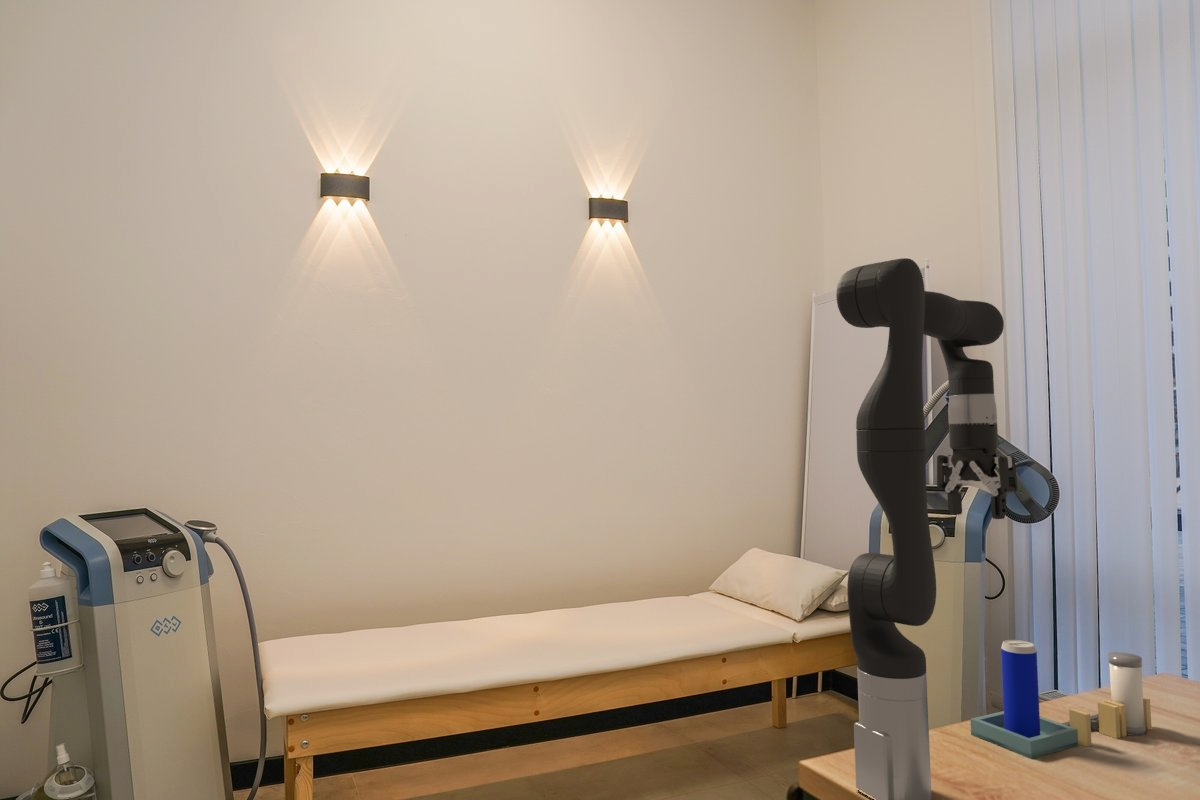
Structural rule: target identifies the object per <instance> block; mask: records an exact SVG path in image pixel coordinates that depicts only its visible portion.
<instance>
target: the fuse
mask: <svg viewBox="0 0 1200 800" xmlns="http://www.w3.org/2000/svg"><path fill="white" fill-rule="evenodd" d="M1107 656H1108V657H1107V658H1108V664H1109V665H1108V666H1109V682H1110V683H1109V684H1110V699H1111V700H1110V701H1113V702H1117V703H1120V704H1123V705H1125V715H1126V734H1127V735H1128V736H1129V735H1130V736H1144V735H1146V728H1145V723H1144V705H1143V697H1144V691H1143V690H1144V689H1143V672H1142V671H1143V670H1142V666H1143V658H1142V657H1141V656H1140V655H1137V654H1133V653H1127V652H1109V653H1108V654H1107Z"/></svg>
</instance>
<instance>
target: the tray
mask: <svg viewBox="0 0 1200 800" xmlns="http://www.w3.org/2000/svg"><path fill="white" fill-rule="evenodd" d="M1061 723H1062V722H1061ZM1061 723H1060V722H1058V721H1055V720H1052V719H1049V718H1046V717H1043V716H1040V735H1039V736H1035V737H1031V738H1027V737H1025V736H1022V735H1019V734H1017V733H1014V732H1011V731H1009V730H1006V729H1005V727H1004V710H1002V711H998V712H993V713H989V714H985V715H982V716H981V715H980V716H977V717H972V718H970V734H971V736H974V737H976V738H979V739H982V740H984V741H986V742H989V743H991V744H994V745H995V746H996V745H997V746H998V747H1001V748H1004V749H1006V750H1008V751H1011V752H1014V753H1016V754H1018V755H1021V756H1023V757H1025V758H1028V759H1034V758H1039V757H1042V756H1045V755H1050V754H1053V753H1054V754H1055V753H1057V752H1060V751H1063V750H1067V749H1070V748H1076V747H1079V743H1078V730H1077V729H1075V728H1073V727H1070V726H1067V725H1064V724H1061Z"/></svg>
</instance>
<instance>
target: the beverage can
mask: <svg viewBox="0 0 1200 800" xmlns="http://www.w3.org/2000/svg"><path fill="white" fill-rule="evenodd" d="M1000 649H1001V650H1000V651H1001V674H1002V676H1001V677H1002V678H1001V679H1002V697H1003V698H1002V699H1003V711H1004V727H1005V729H1006V730H1009V731H1011V732H1014V733H1017V734H1019V735H1022V736H1025V737H1027V738H1031V737H1035V736H1039V735H1040V701H1039V700H1040V699H1039V695H1040V694H1039V675H1038V673H1039V671H1038V654H1037V653H1038V652H1037V648H1036V646H1035V643H1032V642H1030V641H1026V640H1019V639H1006V640H1003V641H1002V643H1001V648H1000Z"/></svg>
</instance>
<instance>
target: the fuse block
mask: <svg viewBox="0 0 1200 800" xmlns="http://www.w3.org/2000/svg"><path fill="white" fill-rule="evenodd" d="M1143 705H1144V723H1145V728H1146V730H1147V731H1149V730H1152V712H1151V698H1149V697H1146V696H1143ZM1097 709H1098V710H1097V711H1098V714H1093V715H1091V713H1088V712H1085V711H1083V710H1079V709H1076V708H1070V709H1068V713H1069V717H1068V718H1069V721H1065V722H1061V724H1064V725H1067V726H1070V727H1073V728H1075V729H1077V730H1078V745H1080V746H1081V745H1082V746H1085V747H1091V746H1092V745H1093V743H1092V732H1093V731H1094V732H1097V731H1099V734H1102V735H1104V736H1107V737H1111V738H1113V739H1120V738H1121V737H1122V738H1124V737H1126V736H1127V735H1128V734H1126V715H1125V705H1123V704H1120V703H1117V702H1113V701H1111V700H1110V699H1107V700H1103V701H1102V700H1101V701H1098V702H1097Z"/></svg>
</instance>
